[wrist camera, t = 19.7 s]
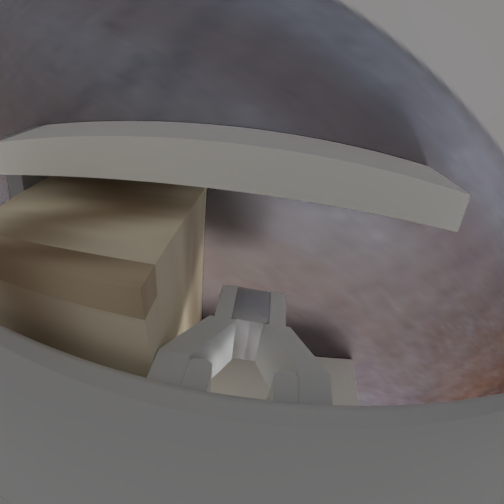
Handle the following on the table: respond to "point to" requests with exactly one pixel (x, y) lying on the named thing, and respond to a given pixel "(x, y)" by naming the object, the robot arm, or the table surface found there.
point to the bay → (240, 187)
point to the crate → (103, 266)
